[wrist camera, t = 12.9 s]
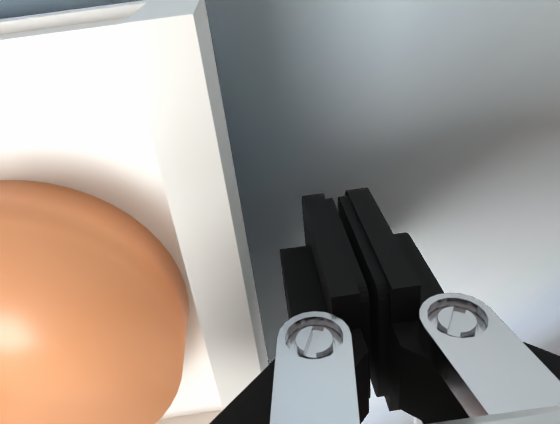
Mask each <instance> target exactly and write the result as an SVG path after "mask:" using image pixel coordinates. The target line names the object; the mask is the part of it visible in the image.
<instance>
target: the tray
mask: <svg viewBox="0 0 560 424" xmlns="http://www.w3.org/2000/svg"><path fill="white" fill-rule="evenodd" d="M0 180H26V181H35V182H44V183H50V184H55V185H59V186H64V187H68V188H72V189H75V190H78V191H81V192H84V193H87V194H90V195H93V196H95V197H97V198H99V199H101V200H103V201H106V202H108V203H110V204H112V205H114V206H115V207H117V208H119V209H120V210H122V211H124V212H125V213H127V214H129V215H130V216H132V217H133V218H134V219H136V220H137V221H138V222H140V223H141V224H142V225H143V226H145V227H146V228H147V229H148V230H149V231H150V232H151V233H152V234H153V235H154V236H155V237H156V238H157V239H158V240H159V241H160V242H161V243H162V244H163V245H164V247H165V248H166V249H167V251H168V252H169V253H170V254H171V256H172V258H173V259H174V261H175V263H176V264H177V266H178V268H179V270H180V272H181V275H182V277H183V280H184V282H185V285H186V290H187V294H188V301H189V317H188V326H187V335H186V344H185V353H184V362H183V371H182V379H181V383H180V386H179V389H178V392H177V395H176V397H175V398H174V400H173V402H172V404H171V406H170V407H169V409H168V410H167V411H166V413H165V414H164V415H163V416H162V418H161V419H160V420H159V421H158V422H156V423H155V424H209V423H210V422H211V421H212V420H213V419H214V418H215V417H216V416H217V415H218V414H219V413H220V412H221V411H223V410H224V409H225V408H226V407H227V406H228V405H229V404H230V403H231V402H232V401H233V400H234V399H235V398H236V397H237V396H238V395H239V394H240V393H241V392H242V391H243V390H244V389H245V388H246V387H247V386H248V385H249V384H250V383H251V382H252V381H253V380H254V379H255V378H256V377H257V376H258V375H259V374H260V373H261V372H262V371H263V370H264V369H265V368H266V367H267V366H268V365H269V363H268V357H267V351H266V346H265V340H264V334H263V329H262V323H261V317H260V312H259V306H258V300H257V295H256V289H255V283H254V278H253V272H252V266H251V261H250V255H249V249H248V244H247V238H246V232H245V227H244V221H243V215H242V210H241V204H240V198H239V193H238V187H237V181H236V176H235V170H234V164H233V159H232V153H231V147H230V141H229V136H228V130H227V124H226V119H225V113H224V107H223V102H222V96H221V90H220V85H219V79H218V73H217V68H216V62H215V56H214V51H213V45H212V39H211V34H210V28H209V22H208V17H207V11H206V5H205V0H141V1H133V2H126V3H118V4H111V5H103V6H96V7H88V8H81V9H73V10H65V11H58V12H50V13H43V14H35V15H28V16H20V17H13V18H5V19H0Z"/></svg>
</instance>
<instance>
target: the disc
mask: <svg viewBox="0 0 560 424" xmlns="http://www.w3.org/2000/svg"><path fill="white" fill-rule="evenodd" d="M188 317H189V301H188V294H187V290H186V285H185V282H184V280H183V277H182V275H181V272H180V270H179V268H178V266H177V264H176V263H175V261H174V259H173V258H172V256H171V254H170V253H169V252H168V251H167V249H166V248H165V247H164V245H163V244H162V243H161V242H160V241H159V240H158V239H157V238H156V237H155V236H154V235H153V234H152V233H151V232H150V231H149V230H148V229H147V228H146V227H145V226H143V225H142V224H141V223H140V222H138V221H137V220H136V219H134V218H133V217H132V216H130V215H129V214H127V213H125V212H124V211H122V210H120V209H119V208H117V207H115V206H114V205H112V204H110V203H108V202H106V201H103V200H101V199H99V198H97V197H95V196H93V195H90V194H87V193H84V192H81V191H78V190H75V189H72V188H68V187H64V186H59V185H55V184H50V183H44V182H35V181H26V180H0V424H155V423H156V422H158V421H159V420H160V419H161V418H162V416H163V415H164V414H165V413H166V411H167V410H168V409H169V407H170V406H171V404H172V402H173V400H174V398H175V397H176V395H177V392H178V389H179V386H180V383H181V379H182V371H183V362H184V353H185V344H186V335H187V326H188Z"/></svg>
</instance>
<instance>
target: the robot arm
mask: <svg viewBox="0 0 560 424" xmlns="http://www.w3.org/2000/svg"><path fill="white" fill-rule="evenodd" d="M302 209H303V221H304V232H305V244H306V246H302V247H295V248H287V249H280V257H281V265H282V274H283V282H284V289H285V296H286V303H287V310H288V316H289V320H288V321H286V322H285V323H284V325H283V326H282V327H281V328H280V330H279V333H278V337H277V345H276V357H275V359H274V360H273V361H272V362H271V363H270V364H269V365H268V366H267V367H266V368H265V369H264V370H263V371H262V372H261V373H260V374H259V375H258V376H257V377H256V378H255V379H254V380H253V381H252V382H251V383H250V384H249V385H248V386H247V387H246V388H245V389H244V390H243V391H242V392H241V393H240V394H239V395H238V396H237V397H236V398H235V399H234V400H233V401H232V402H231V403H230V404H229V405H228V406H227V407H226V408H225V409H224V410H223V411H221V412H220V413H219V414H218V415H217V416H216V417H215V418H214V419H213V420H212V421H211V422H210V423H209V424H361V423H362V421H363V420H364V418H365V417H366V416H367V414H368V413H369V398H370V379H371V382H372V385H373V388H374V391H375V394H376V396H377V397H381V396H385V399H386V402H387V405H388V408H389V411H394V410H403V411H405V412H407V413H408V414H410V415H412V416H413V424H560V356H558V355H555V354H553V353H550V352H548V351H545V350H543V349H540V348H538V347H535V346H532V345H530V344H527V343H525V342H522V341H521V340H520V339H519V338H518V337H517V336H516V334H515V333H514V332H513V331H512V330H511V329H510V328H509V327H508V326H507V325H506V324H505V323H504V322H503V321H502V320H501V319H500V318H499V317H498V316H497V315H496V313H495V312H494V311H493V310H492V309H491V308H490V307H488V306H487V305H486V304H485V303H483V302H482V301H480V300H478V299H476V298H474V297H472V296H468V295H464V294H460V293H444V292H443V290H442V288H441V287H440V285H439V283H438V282H437V280H436V278H435V277H434V275H433V273H432V272H431V270H430V268H429V267H428V265H427V263H426V262H425V260H424V258H423V257H422V255H421V253H420V252H419V250H418V248H417V247H416V245H415V244H414V242H413V240H412V239H411V237H410V236H409V234H408V233H399V234H393V233H392V231H391V229H390V227H389V225H388V224H387V222H386V220H385V218H384V216H383V215H382V213H381V211H380V209H379V207H378V206H377V204H376V202H375V200H374V198H373V196H372V195H371V193H370V191H369V189H368V188H361V189H353V190H346V191H345V196H343V197H338V211H337V208H336V206H335V203H334V201H333V199H332V198H327V199H325V196H324V194H315V195H308V196H302Z"/></svg>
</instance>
